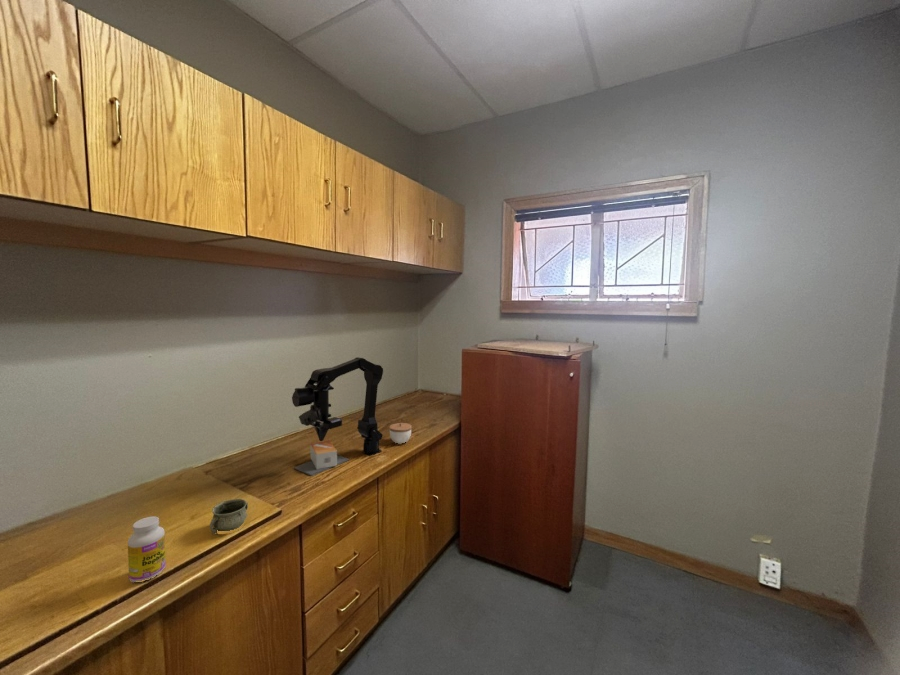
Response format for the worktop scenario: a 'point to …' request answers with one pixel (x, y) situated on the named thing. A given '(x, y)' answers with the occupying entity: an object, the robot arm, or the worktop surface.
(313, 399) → the robot arm
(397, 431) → the lidded jar
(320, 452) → the small box
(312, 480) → the worktop surface
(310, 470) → the mat
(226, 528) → the vessel
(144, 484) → the worktop surface
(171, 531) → the worktop surface
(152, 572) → the supplement bottle
